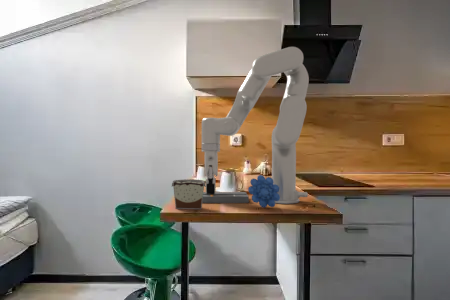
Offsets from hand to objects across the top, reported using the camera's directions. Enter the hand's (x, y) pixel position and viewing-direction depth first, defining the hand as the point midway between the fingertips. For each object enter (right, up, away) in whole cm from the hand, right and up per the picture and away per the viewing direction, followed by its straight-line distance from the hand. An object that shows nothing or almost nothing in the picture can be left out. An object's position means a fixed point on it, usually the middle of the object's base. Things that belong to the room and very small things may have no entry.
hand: (210, 192), depth 145 cm
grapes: (+20, -4, -16) cm, 26 cm away
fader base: (+6, -3, 0) cm, 6 cm away
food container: (-7, -4, -15) cm, 17 cm away
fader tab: (0, -1, 0) cm, 1 cm away
